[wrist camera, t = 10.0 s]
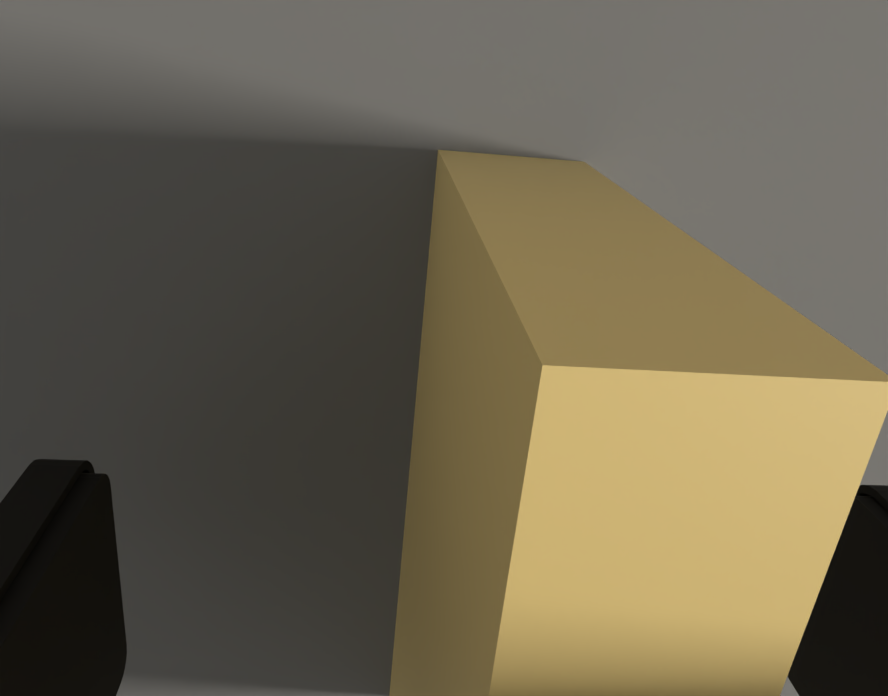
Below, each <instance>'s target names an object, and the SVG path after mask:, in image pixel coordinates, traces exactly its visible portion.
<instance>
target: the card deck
mask: <svg viewBox="0 0 888 696" xmlns="http://www.w3.org/2000/svg"><path fill="white" fill-rule="evenodd" d="M887 411H888V375H887V374H886V373H884V372H883V371H881V370H880V369H878V368H877V367H876V366H874V365H873V364H871V363H870V362H869V361H867V360H866V359H864V358H863V357H861V356H860V355H859V354H857V353H856V352H854V351H853V350H851V349H850V348H849V347H847V346H846V345H844V344H843V343H841V342H840V341H839V340H837V339H836V338H834V337H833V336H831V335H830V334H829V333H827V332H826V331H824V330H823V329H822V328H820V327H819V326H817V325H816V324H814V323H813V322H812V321H810V320H809V319H807V318H806V317H804V316H803V315H802V314H800V313H799V312H797V311H796V310H794V309H793V308H792V307H790V306H789V305H787V304H786V303H785V302H783V301H782V300H780V299H779V298H777V297H776V296H775V295H773V294H772V293H770V292H769V291H767V290H766V289H765V288H763V287H762V286H760V285H759V284H757V283H756V282H755V281H753V280H752V279H750V278H749V277H747V276H746V275H745V274H743V273H742V272H740V271H739V270H738V269H736V268H735V267H733V266H732V265H730V264H729V263H728V262H726V261H725V260H723V259H722V258H720V257H719V256H718V255H716V254H715V253H713V252H712V251H710V250H709V249H708V248H706V247H705V246H703V245H702V244H701V243H699V242H698V241H696V240H695V239H693V238H692V237H691V236H689V235H688V234H686V233H685V232H683V231H682V230H681V229H679V228H678V227H676V226H675V225H673V224H672V223H671V222H669V221H668V220H666V219H665V218H663V217H662V216H661V215H659V214H658V213H656V212H655V211H654V210H652V209H651V208H649V207H648V206H646V205H645V204H644V203H642V202H641V201H639V200H638V199H636V198H635V197H634V196H632V195H631V194H629V193H628V192H626V191H625V190H624V189H622V188H621V187H619V186H618V185H617V184H615V183H614V182H612V181H611V180H609V179H608V178H607V177H605V176H604V175H602V174H601V173H599V172H598V171H597V170H595V169H594V168H592V167H591V166H589V165H588V164H587V163H585V162H582V161H570V160H557V159H545V158H533V157H521V156H509V155H497V154H484V153H472V152H460V151H448V150H438V156H437V167H436V178H435V189H434V200H433V212H432V223H431V234H430V245H429V256H428V268H427V279H426V290H425V301H424V312H423V324H422V335H421V346H420V357H419V368H418V380H417V391H416V402H415V413H414V424H413V436H412V447H411V458H410V469H409V481H408V492H407V503H406V514H405V525H404V537H403V548H402V559H401V570H400V581H399V593H398V604H397V615H396V626H395V637H394V649H393V660H392V671H391V682H390V693H389V696H780V694H781V692H782V689H783V686H784V684H785V681H786V678H787V676H788V673H789V670H790V668H791V665H792V662H793V660H794V657H795V655H796V652H797V649H798V647H799V644H800V641H801V639H802V636H803V633H804V631H805V628H806V625H807V623H808V620H809V618H810V615H811V612H812V610H813V607H814V604H815V602H816V599H817V596H818V594H819V591H820V588H821V586H822V583H823V581H824V578H825V575H826V573H827V570H828V567H829V565H830V562H831V559H832V557H833V554H834V551H835V549H836V546H837V544H838V541H839V538H840V536H841V533H842V530H843V528H844V525H845V522H846V520H847V517H848V514H849V512H850V509H851V507H852V504H853V501H854V499H855V496H856V493H857V491H858V488H859V485H860V483H861V480H862V477H863V475H864V472H865V470H866V467H867V464H868V462H869V459H870V456H871V454H872V451H873V448H874V446H875V443H876V440H877V438H878V435H879V433H880V430H881V427H882V425H883V422H884V419H885V417H886V414H887Z"/></svg>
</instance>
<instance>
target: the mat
mask: <svg viewBox="0 0 888 696" xmlns="http://www.w3.org/2000/svg"><path fill="white" fill-rule="evenodd" d="M438 150H448V151H460V152H472V153H484V154H497V155H509V156H521V157H533V158H545V159H557V160H570V161H582V162H585V163H587V164H588V165H589V166H591V167H592V168H594V169H595V170H597V171H598V172H599V173H601V174H602V175H604V176H605V177H607V178H608V179H609V180H611V181H612V182H614V183H615V184H617V185H618V186H619V187H621V188H622V189H624V190H625V191H626V192H628V193H629V194H631V195H632V196H634V197H635V198H636V199H638V200H639V201H641V202H642V203H644V204H645V205H646V206H648V207H649V208H651V209H652V210H654V211H655V212H656V213H658V214H659V215H661V216H662V217H663V218H665V219H666V220H668V221H669V222H671V223H672V224H673V225H675V226H676V227H678V228H679V229H681V230H682V231H683V232H685V233H686V234H688V235H689V236H691V237H692V238H693V239H695V240H696V241H698V242H699V243H701V244H702V245H703V246H705V247H706V248H708V249H709V250H710V251H712V252H713V253H715V254H716V255H718V256H719V257H720V258H722V259H723V260H725V261H726V262H728V263H729V264H730V265H732V266H733V267H735V268H736V269H738V270H739V271H740V272H742V273H743V274H745V275H746V276H747V277H749V278H750V279H752V280H753V281H755V282H756V283H757V284H759V285H760V286H762V287H763V288H765V289H766V290H767V291H769V292H770V293H772V294H773V295H775V296H776V297H777V298H779V299H780V300H782V301H783V302H785V303H786V304H787V305H789V306H790V307H792V308H793V309H794V310H796V311H797V312H799V313H800V314H802V315H803V316H804V317H806V318H807V319H809V320H810V321H812V322H813V323H814V324H816V325H817V326H819V327H820V328H822V329H823V330H824V331H826V332H827V333H829V334H830V335H831V336H833V337H834V338H836V339H837V340H839V341H840V342H841V343H843V344H844V345H846V346H847V347H849V348H850V349H851V350H853V351H854V352H856V353H857V354H859V355H860V356H861V357H863V358H864V359H866V360H867V361H869V362H870V363H871V364H873V365H874V366H876V367H877V368H878V369H880V370H881V371H883V372H884V373H886V374H887V375H888V0H0V503H1V501H2V500H3V499H4V497H5V496H6V495H7V493H8V492H9V491H10V489H11V488H12V487H13V485H14V484H15V483H16V481H17V480H18V479H19V477H20V476H21V475H22V474H23V472H24V471H25V470H26V468H27V467H28V466H29V464H30V463H32V462H33V461H34V460H36V459H58V460H88V461H89V462H91V464H92V466H93V468H94V472H95V473H104V474H107V475H108V477H109V479H110V484H111V493H112V503H113V513H114V523H115V533H116V543H117V553H118V563H119V573H120V583H121V593H122V603H123V613H124V623H125V633H126V643H127V657H126V665H125V670H124V675H123V678H122V681H121V684H120V687H119V689H118V692H117V695H116V696H389V693H390V682H391V671H392V660H393V649H394V637H395V626H396V615H397V604H398V593H399V581H400V570H401V559H402V548H403V537H404V525H405V514H406V503H407V492H408V481H409V469H410V458H411V447H412V436H413V424H414V413H415V402H416V391H417V380H418V368H419V357H420V346H421V335H422V324H423V312H424V301H425V290H426V279H427V268H428V256H429V245H430V234H431V223H432V212H433V200H434V189H435V178H436V167H437V156H438ZM860 485H888V411H887V414H886V417H885V419H884V422H883V425H882V427H881V430H880V433H879V435H878V438H877V440H876V443H875V446H874V448H873V451H872V454H871V456H870V459H869V462H868V464H867V467H866V470H865V472H864V475H863V477H862V480H861V483H860ZM860 485H859V486H860ZM780 696H799V695H798V693H797V691H796V690H795V688H794V687H793V685H792V683H791V682H790V680H789V678H788V676H787V678H786V681H785V684H784V686H783V689H782V692H781V694H780Z"/></svg>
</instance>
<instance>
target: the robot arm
mask: <svg viewBox="0 0 888 696" xmlns="http://www.w3.org/2000/svg"><path fill="white" fill-rule="evenodd" d="M126 657H127V643H126V633H125V623H124V613H123V603H122V593H121V583H120V573H119V563H118V553H117V543H116V533H115V523H114V513H113V503H112V493H111V484H110V479H109V477H108V475H107V474H104V473H95V472H94V468H93V466H92V464H91V462H89V461H88V460H58V459H36V460H34V461H33V462H32V463H30V464H29V466H28V467H27V468H26V470H25V471H24V472H23V474H22V475H21V476H20V477H19V479H18V480H17V481H16V483H15V484H14V485H13V487H12V488H11V489H10V491H9V492H8V493H7V495H6V496H5V497H4V499H3V500H2V501H1V503H0V696H116V695H117V692H118V689H119V687H120V684H121V681H122V678H123V675H124V670H125V665H126ZM788 678H789V680H790V682H791V683H792V685H793V687H794V688H795V690H796V691H797V693H798V695H799V696H888V485H860V486H859V488H858V491H857V493H856V496H855V499H854V501H853V504H852V507H851V509H850V512H849V514H848V517H847V520H846V522H845V525H844V528H843V530H842V533H841V536H840V538H839V541H838V544H837V546H836V549H835V551H834V554H833V557H832V559H831V562H830V565H829V567H828V570H827V573H826V575H825V578H824V581H823V583H822V586H821V588H820V591H819V594H818V596H817V599H816V602H815V604H814V607H813V610H812V612H811V615H810V618H809V620H808V623H807V625H806V628H805V631H804V633H803V636H802V639H801V641H800V644H799V647H798V649H797V652H796V655H795V657H794V660H793V662H792V665H791V668H790V670H789V673H788Z"/></svg>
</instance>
